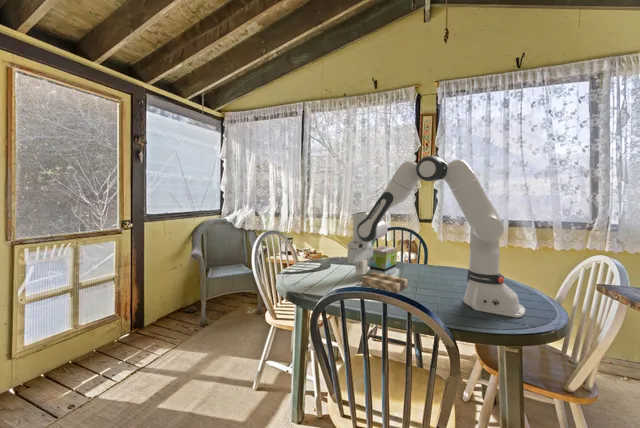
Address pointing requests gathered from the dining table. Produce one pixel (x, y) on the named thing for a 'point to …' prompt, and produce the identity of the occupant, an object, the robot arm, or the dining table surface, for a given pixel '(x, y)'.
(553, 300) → the dining table surface
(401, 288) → the trough
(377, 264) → the tea box
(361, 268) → the block
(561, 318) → the dining table surface
